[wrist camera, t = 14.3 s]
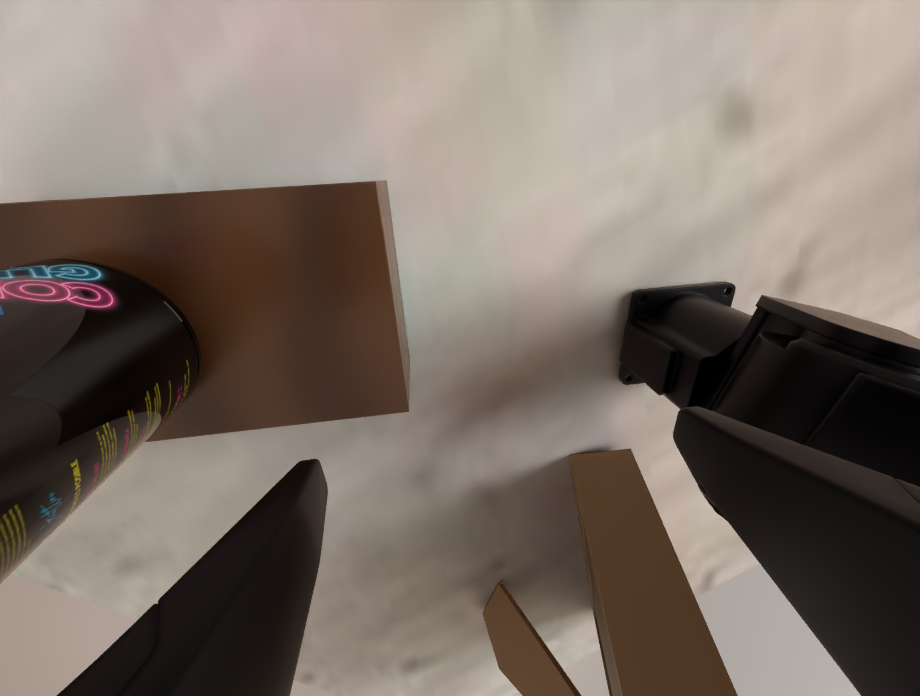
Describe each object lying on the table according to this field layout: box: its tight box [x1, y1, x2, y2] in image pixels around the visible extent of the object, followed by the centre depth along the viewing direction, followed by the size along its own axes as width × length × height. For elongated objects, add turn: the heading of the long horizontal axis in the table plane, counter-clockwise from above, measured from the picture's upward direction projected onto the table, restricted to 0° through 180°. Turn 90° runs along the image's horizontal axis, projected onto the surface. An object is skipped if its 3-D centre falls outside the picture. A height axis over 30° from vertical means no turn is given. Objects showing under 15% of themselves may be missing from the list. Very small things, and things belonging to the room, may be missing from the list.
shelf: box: [0, 180, 410, 442], centre depth 17 cm, size 16×10×6 cm, turn 93°
